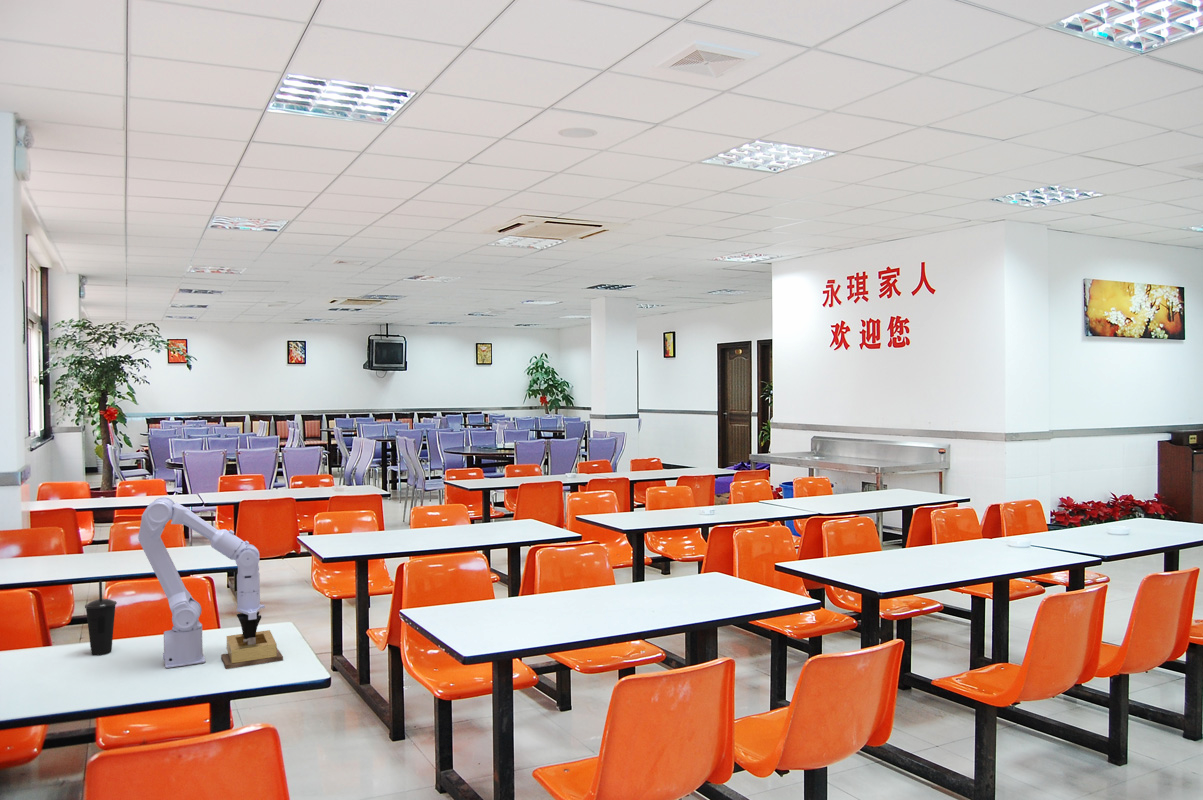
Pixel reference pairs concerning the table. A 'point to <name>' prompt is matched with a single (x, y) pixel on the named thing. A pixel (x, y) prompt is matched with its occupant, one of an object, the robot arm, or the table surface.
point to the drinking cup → (100, 624)
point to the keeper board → (251, 641)
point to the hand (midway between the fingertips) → (249, 640)
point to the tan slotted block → (251, 647)
